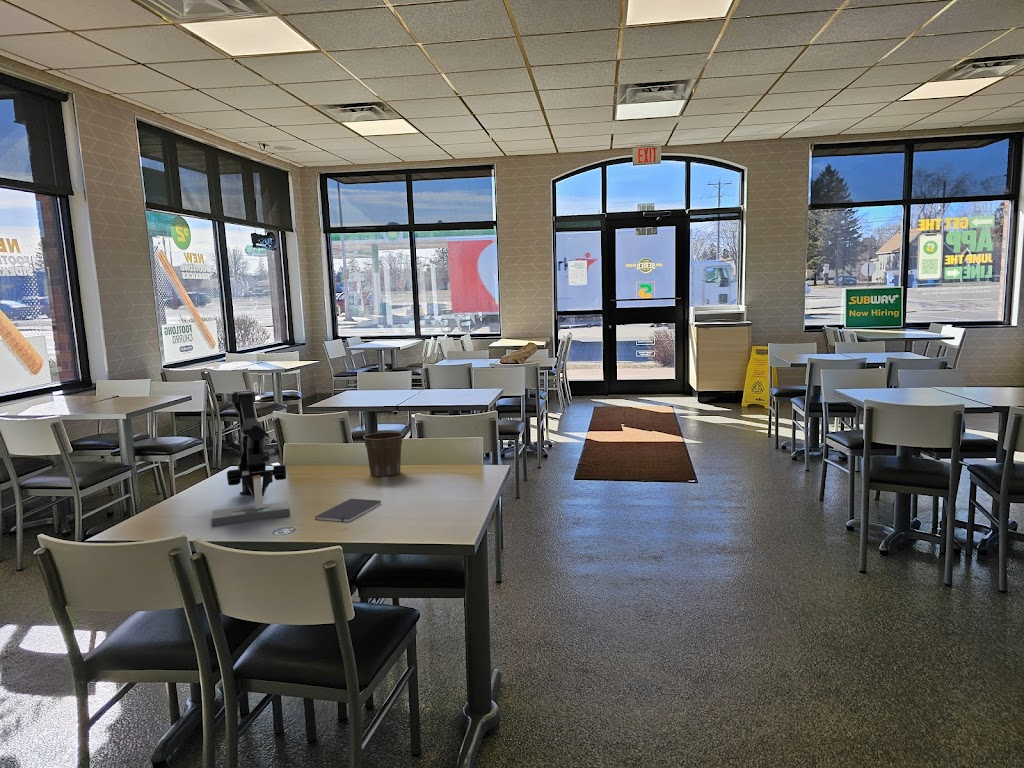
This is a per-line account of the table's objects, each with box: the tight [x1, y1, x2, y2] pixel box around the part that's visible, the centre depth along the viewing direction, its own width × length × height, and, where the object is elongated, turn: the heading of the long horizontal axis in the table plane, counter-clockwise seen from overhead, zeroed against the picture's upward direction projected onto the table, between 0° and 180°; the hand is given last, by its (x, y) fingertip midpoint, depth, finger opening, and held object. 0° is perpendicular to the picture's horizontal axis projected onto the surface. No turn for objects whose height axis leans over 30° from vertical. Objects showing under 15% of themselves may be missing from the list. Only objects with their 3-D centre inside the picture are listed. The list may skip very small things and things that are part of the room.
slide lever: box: [253, 475, 264, 509], centre depth 234 cm, size 2×3×11 cm
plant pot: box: [363, 431, 404, 478], centre depth 286 cm, size 16×16×16 cm
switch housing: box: [211, 500, 291, 527], centre depth 234 cm, size 24×10×2 cm, turn 110°
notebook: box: [314, 498, 382, 523], centre depth 236 cm, size 13×2×21 cm
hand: (258, 496), depth 233 cm, fingers closed on slide lever, 2 cm apart
